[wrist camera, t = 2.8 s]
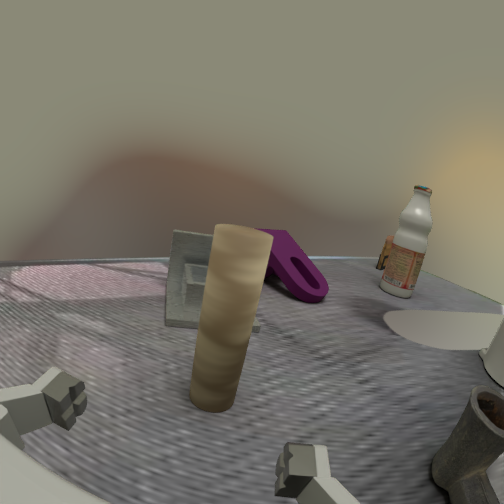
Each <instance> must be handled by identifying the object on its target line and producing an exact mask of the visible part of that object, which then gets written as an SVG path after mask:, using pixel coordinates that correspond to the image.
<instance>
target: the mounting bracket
mask: <svg viewBox="0 0 504 504" xmlns="http://www.w3.org/2000/svg"><path fill="white" fill-rule="evenodd" d="M257 230H260V231H263V232H266V233H268V234H270V235H272V236H273V242H272V247H271V251H270V255H269V260H268V264H267V268H266V273H265V277H264V278H266V277H268V276H270V275H271V274H274V275H276V276H279V278H280V279H281V280H282V282H283V283H284V284H285V286H286V287H287V289H288V290H289V291H290V292H291V293H292V294H293V295H295V296H296V297H297V298H299V299H300V300H302V301H305V302H307V303H317V302H320V301H321V300H322V299H323V298H324V297H325V295H326V294H327V293H328V290H329V287H328V284H327V281H326V279H325V278H324V276H323V275H322V274H321V273H320V271H319V270H318V269H317V268H316V266H315V265H314V264H313V263H312V261H311V260H310V259H309V258H308V257H307V255H306V254H305V253H304V252H303V250H302V249H301V248H300V247H299V246H298V245H297V243H296V242H295V241H294V240H293V238H292V237H291V236H290V235H289V233H288V232H287V231H285V230H270V229H257Z"/></svg>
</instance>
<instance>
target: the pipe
mask: <svg viewBox="0 0 504 504" xmlns="http://www.w3.org/2000/svg"><path fill="white" fill-rule="evenodd" d="M503 452H504V396H502V395H501V394H500V393H498V392H496V391H495V390H493V389H491V388H489V387H487V386H477V387H475V388H473V390H472V392H471V395H470V399H469V402H468V404H467V406H466V408H465V410H464V412H463V414H462V416H461V418H460V420H459V422H458V424H457V425H456V427H455V429H454V430H453V432H452V434H451V435H450V437H449V438H448V439H447V441H446V442H445V443H444V445H443V446H442V447H441V448H440V450H439V451H438V452H437V454H436V455H435V456H434V459H433V462H432V476H433V479H434V481H435V483H436V484H437V485H438V486H440V487H442V488H443V489H445V490H447V491H448V493H449V497H450V501H451V504H500V503H499V501H498V499H497V497H496V494H495V492H494V490H493V488H492V486H491V484H490V482H489V479H488V477H487V474H486V469H487V468H488V467H489V466H490V465H491V464H492V463H493V462H494V461H495V460H496V459H497V458H498V457H499V456H500V455H501V454H502V453H503Z"/></svg>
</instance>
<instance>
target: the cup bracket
mask: <svg viewBox="0 0 504 504" xmlns="http://www.w3.org/2000/svg"><path fill="white" fill-rule="evenodd" d="M213 236H214V235H209V234H202V233H195V232H187V231H180V230H174V232H173V238H172V246H171V253H170V260H169V268H168V276H167V288H166V326H173V327H183V328H195V329H198V327H199V320H200V314H201V307H202V301H203V295H204V288H205V282H206V276H207V270H208V265H209V259H210V253H211V248H212V242H213ZM260 327H261V325H260V324H259V322H258V320H257V318H256V316H255V319H254V323H253V327H252V331H251V332H259V331H260Z"/></svg>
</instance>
